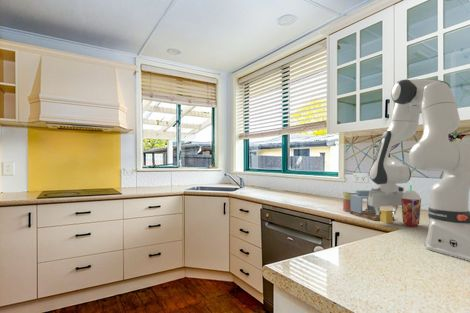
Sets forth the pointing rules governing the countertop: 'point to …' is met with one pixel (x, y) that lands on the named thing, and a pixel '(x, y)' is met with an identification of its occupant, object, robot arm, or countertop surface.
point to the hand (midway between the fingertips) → (386, 214)
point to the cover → (360, 201)
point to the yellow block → (386, 216)
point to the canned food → (347, 200)
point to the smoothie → (411, 208)
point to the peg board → (368, 215)
